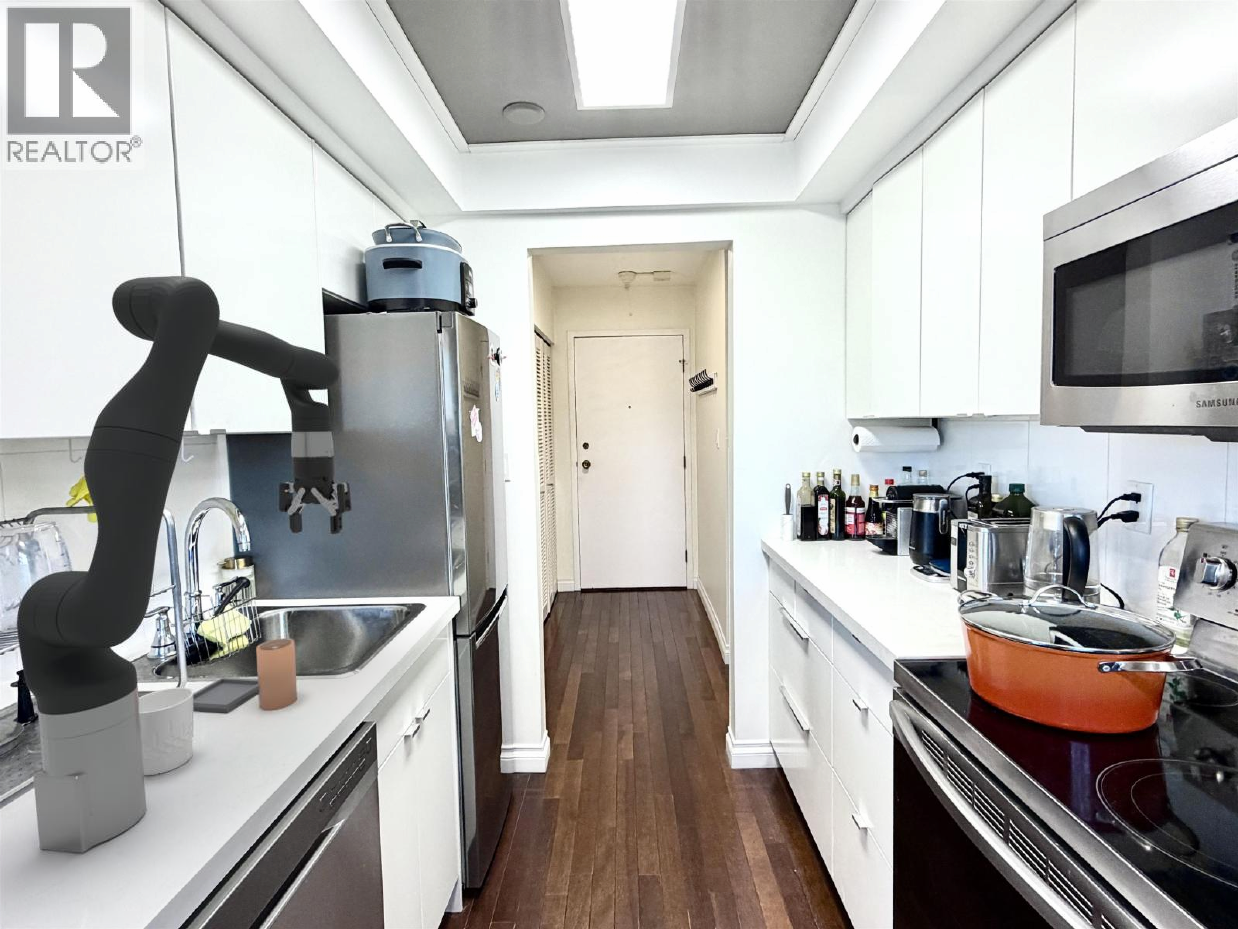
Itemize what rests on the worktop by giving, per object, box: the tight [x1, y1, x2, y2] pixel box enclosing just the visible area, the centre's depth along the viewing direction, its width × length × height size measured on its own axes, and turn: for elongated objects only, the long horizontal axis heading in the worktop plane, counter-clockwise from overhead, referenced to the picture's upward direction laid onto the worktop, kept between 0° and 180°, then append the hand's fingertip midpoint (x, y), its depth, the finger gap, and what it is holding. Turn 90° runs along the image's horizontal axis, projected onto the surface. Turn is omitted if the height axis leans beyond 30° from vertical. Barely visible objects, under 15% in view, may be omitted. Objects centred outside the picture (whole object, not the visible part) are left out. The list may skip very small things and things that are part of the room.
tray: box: [193, 677, 259, 714], centre depth 105 cm, size 10×10×2 cm
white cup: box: [138, 687, 195, 776], centre depth 85 cm, size 8×8×10 cm
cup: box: [256, 638, 298, 711], centre depth 104 cm, size 6×6×11 cm
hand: (316, 532), depth 115 cm, fingers open, 8 cm apart
